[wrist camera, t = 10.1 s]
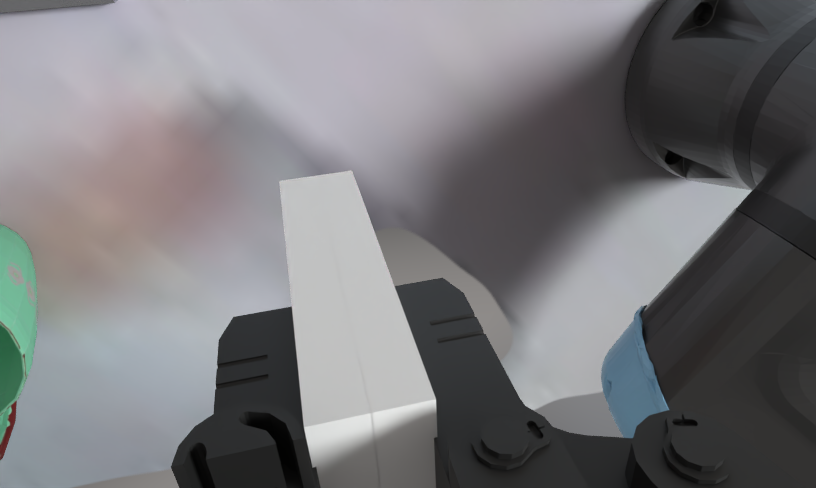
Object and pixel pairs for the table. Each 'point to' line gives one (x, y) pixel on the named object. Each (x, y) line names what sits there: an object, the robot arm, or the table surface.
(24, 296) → the mug
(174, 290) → the table surface
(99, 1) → the cap plate
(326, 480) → the robot arm
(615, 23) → the table surface
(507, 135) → the table surface
